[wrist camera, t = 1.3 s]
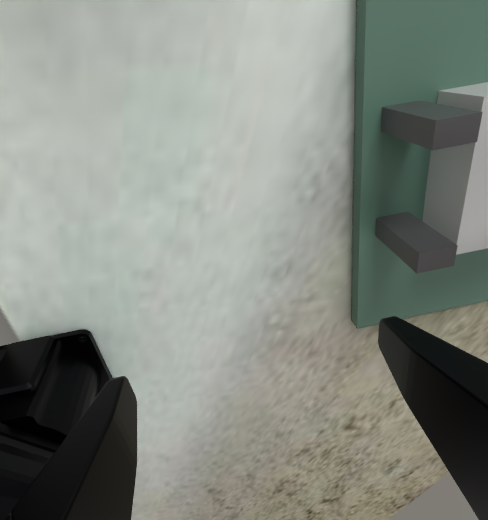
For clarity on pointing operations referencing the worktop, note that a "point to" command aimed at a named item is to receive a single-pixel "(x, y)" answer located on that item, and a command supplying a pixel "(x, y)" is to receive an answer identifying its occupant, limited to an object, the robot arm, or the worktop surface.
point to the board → (420, 158)
